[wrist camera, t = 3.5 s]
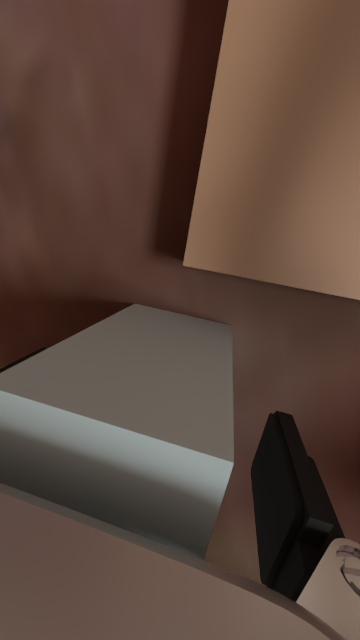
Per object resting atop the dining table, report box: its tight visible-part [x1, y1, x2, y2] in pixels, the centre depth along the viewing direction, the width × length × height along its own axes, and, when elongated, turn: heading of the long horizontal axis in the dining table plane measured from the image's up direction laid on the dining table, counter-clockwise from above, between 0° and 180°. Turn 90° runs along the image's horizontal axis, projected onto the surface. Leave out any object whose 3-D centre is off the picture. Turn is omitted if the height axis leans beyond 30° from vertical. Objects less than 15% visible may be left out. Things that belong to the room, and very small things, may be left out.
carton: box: [0, 304, 234, 560], centre depth 9 cm, size 5×7×8 cm
